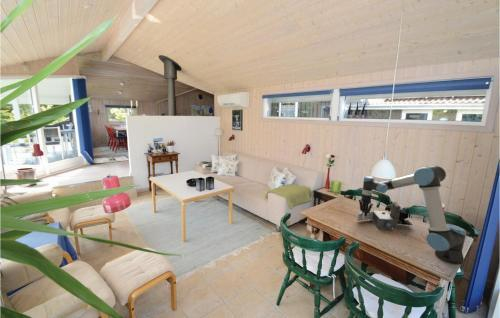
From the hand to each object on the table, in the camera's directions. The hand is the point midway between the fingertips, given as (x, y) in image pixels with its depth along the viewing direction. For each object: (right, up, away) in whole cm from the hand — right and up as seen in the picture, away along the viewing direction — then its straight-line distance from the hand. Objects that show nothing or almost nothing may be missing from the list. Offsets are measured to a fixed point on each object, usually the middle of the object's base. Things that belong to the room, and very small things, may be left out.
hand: (363, 219), depth 210 cm
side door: (+2, -3, +5) cm, 6 cm away
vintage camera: (+30, -5, -3) cm, 31 cm away
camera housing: (+14, -4, -3) cm, 15 cm away
